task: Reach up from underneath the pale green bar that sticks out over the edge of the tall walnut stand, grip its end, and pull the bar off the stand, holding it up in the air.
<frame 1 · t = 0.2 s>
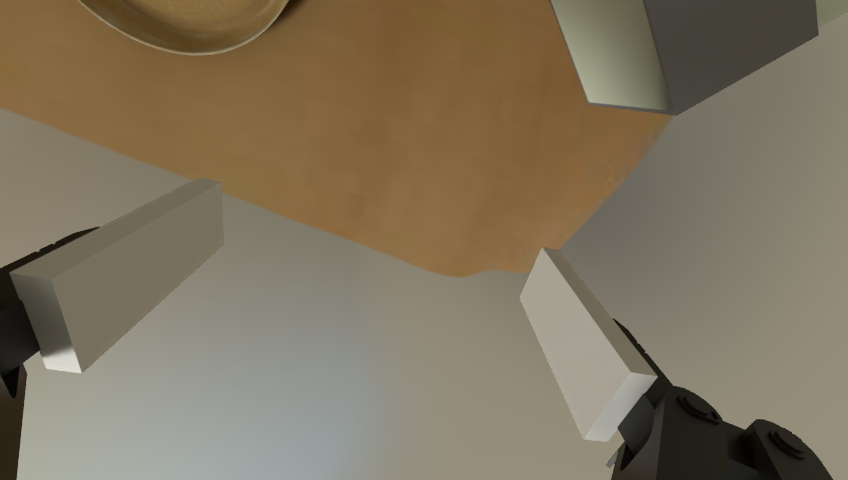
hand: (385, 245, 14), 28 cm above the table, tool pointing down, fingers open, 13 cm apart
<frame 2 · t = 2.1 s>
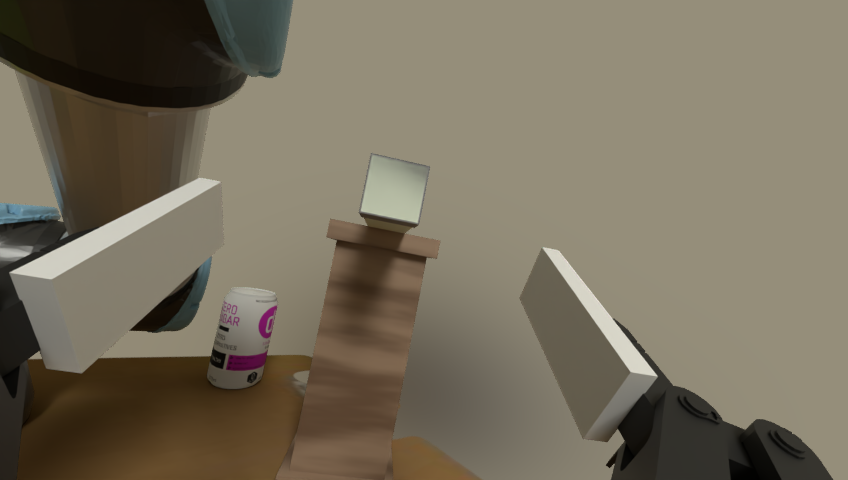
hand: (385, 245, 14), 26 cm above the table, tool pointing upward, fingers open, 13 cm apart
supplement can: (234, 381, 56), on the table
bar: (386, 231, 38), point 28 cm above the table, touching stand
stand: (343, 442, 44), on the table
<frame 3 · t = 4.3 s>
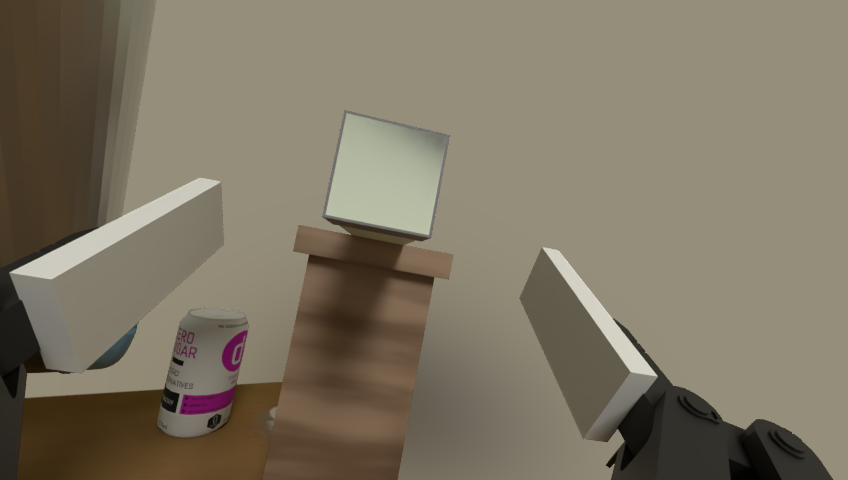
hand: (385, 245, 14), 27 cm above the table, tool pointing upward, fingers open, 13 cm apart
supplement can: (193, 424, 45), on the table
bar: (378, 241, 28), point 28 cm above the table, touching stand
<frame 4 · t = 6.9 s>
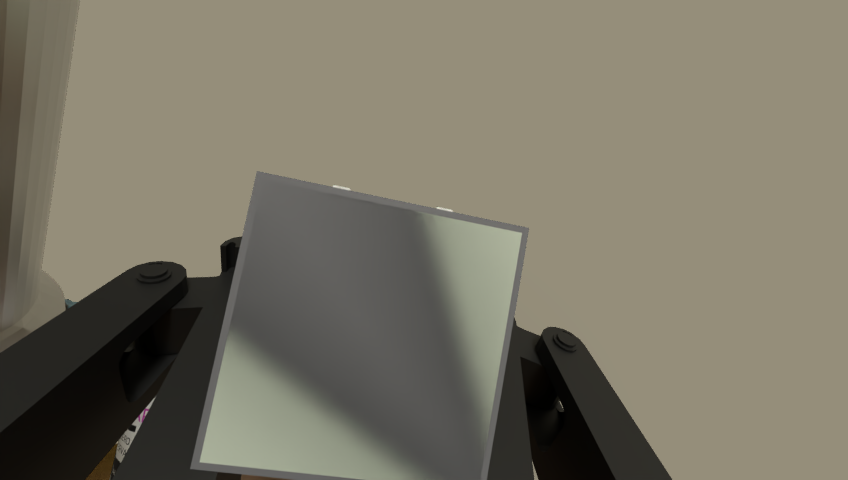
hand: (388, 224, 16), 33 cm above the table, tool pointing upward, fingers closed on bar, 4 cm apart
bar: (371, 308, 20), point 28 cm above the table, touching gripper, stand
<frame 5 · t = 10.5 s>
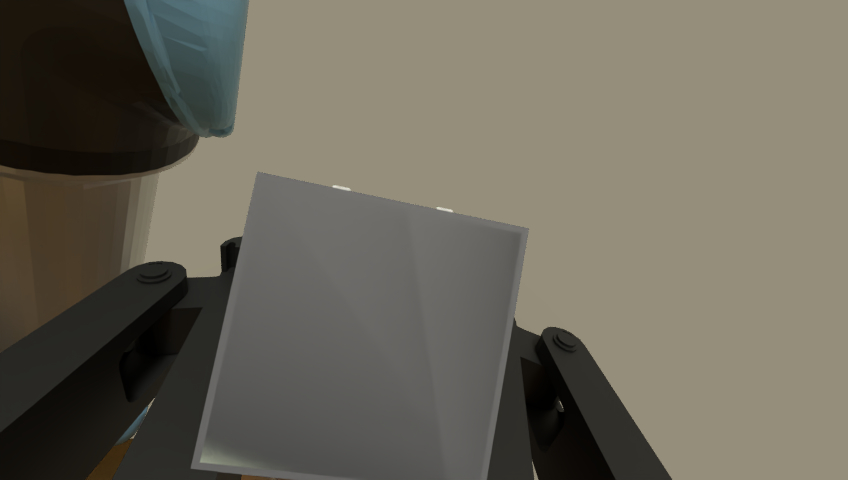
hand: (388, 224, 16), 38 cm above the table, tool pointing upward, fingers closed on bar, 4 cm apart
bar: (371, 308, 20), point 33 cm above the table, touching gripper
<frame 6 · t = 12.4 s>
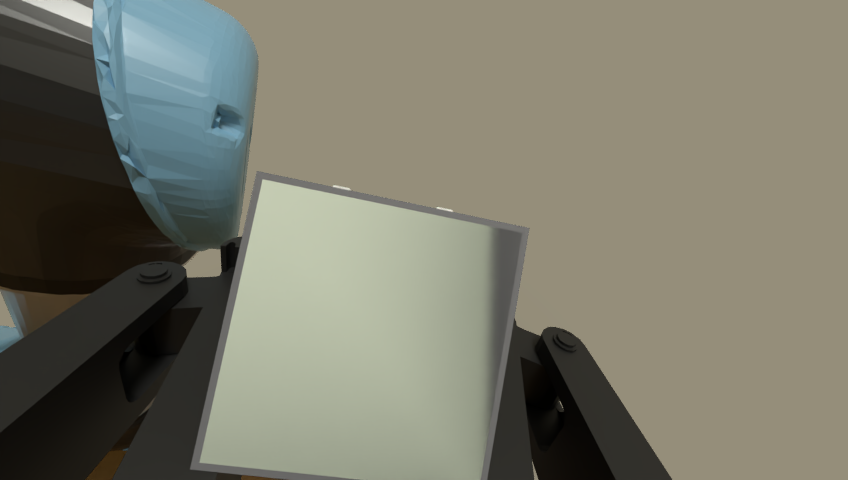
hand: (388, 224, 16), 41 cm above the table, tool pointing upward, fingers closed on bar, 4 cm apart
bar: (371, 308, 20), point 36 cm above the table, touching gripper
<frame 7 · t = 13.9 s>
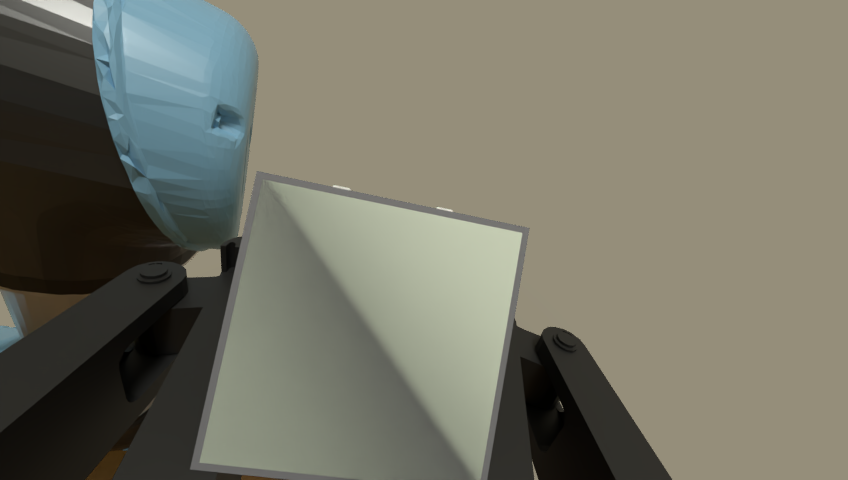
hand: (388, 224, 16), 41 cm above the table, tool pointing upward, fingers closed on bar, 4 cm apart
bar: (371, 308, 20), point 36 cm above the table, touching gripper
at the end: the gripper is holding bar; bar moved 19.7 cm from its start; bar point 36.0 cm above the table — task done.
